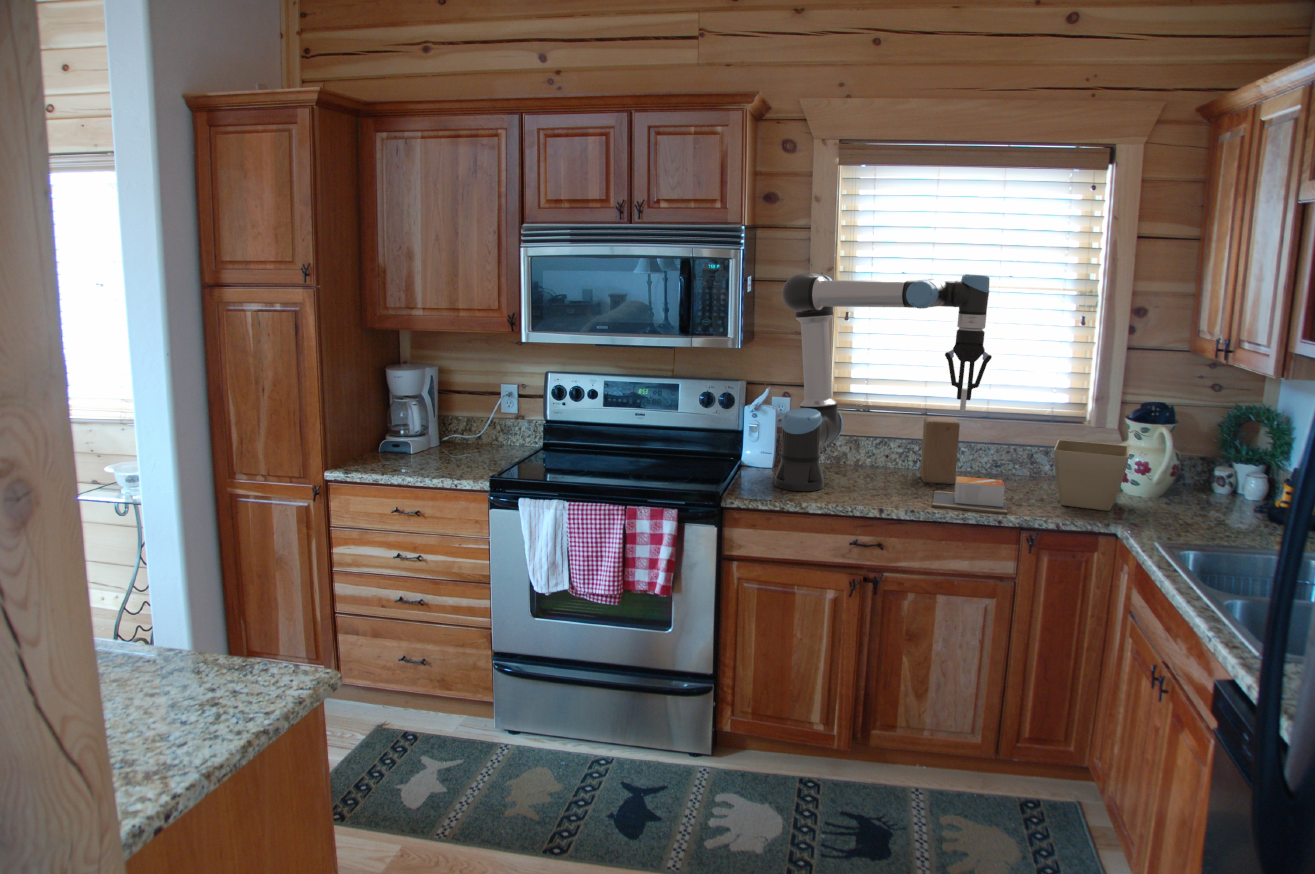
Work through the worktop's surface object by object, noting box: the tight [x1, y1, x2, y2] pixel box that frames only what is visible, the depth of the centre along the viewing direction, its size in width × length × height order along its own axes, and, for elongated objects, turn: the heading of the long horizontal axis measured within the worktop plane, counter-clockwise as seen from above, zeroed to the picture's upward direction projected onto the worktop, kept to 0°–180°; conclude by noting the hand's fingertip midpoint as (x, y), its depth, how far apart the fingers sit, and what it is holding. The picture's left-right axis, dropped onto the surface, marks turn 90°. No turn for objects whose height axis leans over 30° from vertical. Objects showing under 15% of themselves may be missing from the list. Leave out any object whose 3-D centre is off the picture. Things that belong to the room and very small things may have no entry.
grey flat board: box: [931, 490, 1008, 515], centre depth 257 cm, size 20×16×1 cm
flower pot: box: [1053, 439, 1130, 512], centre depth 257 cm, size 19×19×17 cm
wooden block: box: [919, 415, 961, 485], centre depth 283 cm, size 10×10×20 cm
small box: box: [954, 476, 1006, 507], centre depth 256 cm, size 8×6×13 cm
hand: (962, 410), depth 257 cm, fingers closed
